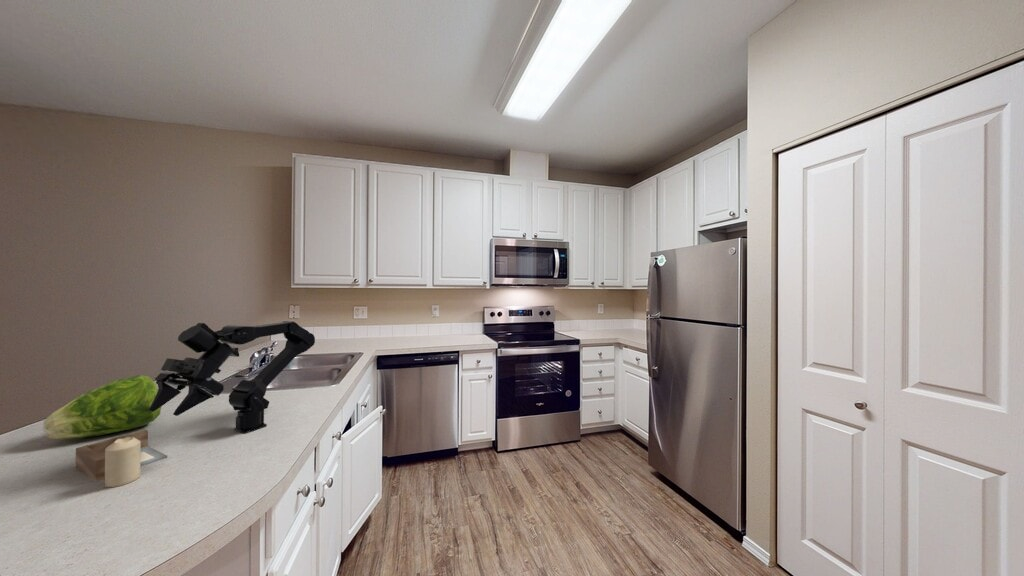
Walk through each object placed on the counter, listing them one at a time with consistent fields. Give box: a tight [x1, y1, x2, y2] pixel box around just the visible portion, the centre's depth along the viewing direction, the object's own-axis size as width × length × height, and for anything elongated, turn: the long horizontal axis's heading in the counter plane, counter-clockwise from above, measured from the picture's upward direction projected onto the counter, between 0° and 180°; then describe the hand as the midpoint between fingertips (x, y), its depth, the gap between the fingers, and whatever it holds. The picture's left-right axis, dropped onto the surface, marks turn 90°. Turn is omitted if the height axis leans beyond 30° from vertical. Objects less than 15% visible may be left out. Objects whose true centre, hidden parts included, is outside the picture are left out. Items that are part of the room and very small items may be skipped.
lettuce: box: [42, 374, 162, 440], centre depth 104 cm, size 17×23×16 cm
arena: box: [75, 428, 168, 483], centre depth 87 cm, size 12×14×5 cm
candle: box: [104, 437, 141, 488], centre depth 79 cm, size 6×6×10 cm
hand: (162, 413), depth 87 cm, fingers open, 9 cm apart
